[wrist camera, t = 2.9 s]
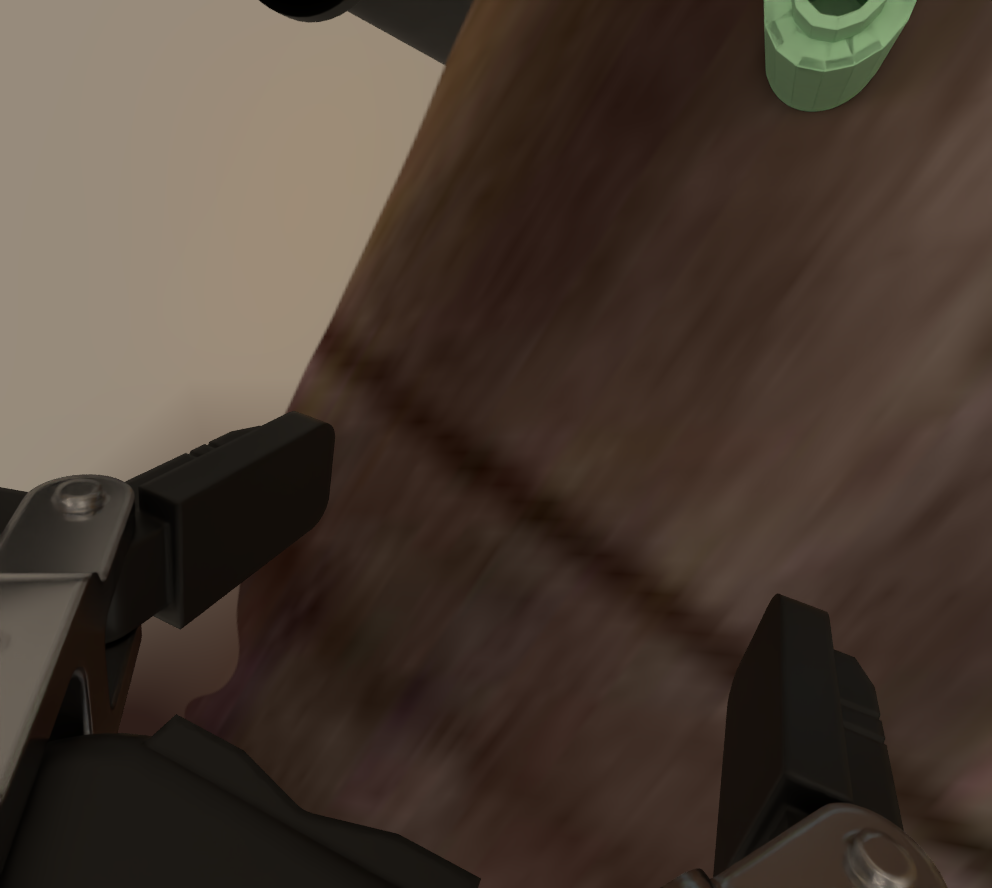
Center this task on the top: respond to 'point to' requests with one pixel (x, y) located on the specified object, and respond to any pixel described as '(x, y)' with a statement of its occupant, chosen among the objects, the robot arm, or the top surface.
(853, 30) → the bottle
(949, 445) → the top surface
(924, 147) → the top surface
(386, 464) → the top surface
